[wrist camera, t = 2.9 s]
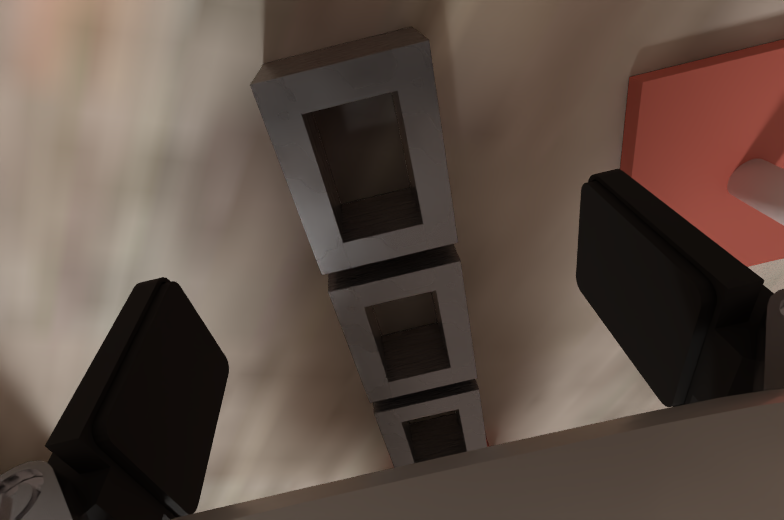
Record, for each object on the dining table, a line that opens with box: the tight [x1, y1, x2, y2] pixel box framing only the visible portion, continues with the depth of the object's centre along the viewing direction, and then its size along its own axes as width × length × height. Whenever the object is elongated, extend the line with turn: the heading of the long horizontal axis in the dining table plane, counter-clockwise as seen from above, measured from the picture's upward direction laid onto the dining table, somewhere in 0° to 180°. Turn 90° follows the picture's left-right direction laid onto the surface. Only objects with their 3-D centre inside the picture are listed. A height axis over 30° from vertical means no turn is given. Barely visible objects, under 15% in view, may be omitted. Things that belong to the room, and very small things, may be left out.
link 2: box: [373, 379, 487, 468], centre depth 28 cm, size 8×6×4 cm
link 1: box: [328, 244, 477, 403], centre depth 23 cm, size 8×6×4 cm
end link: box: [250, 27, 458, 275], centre depth 18 cm, size 8×6×4 cm
